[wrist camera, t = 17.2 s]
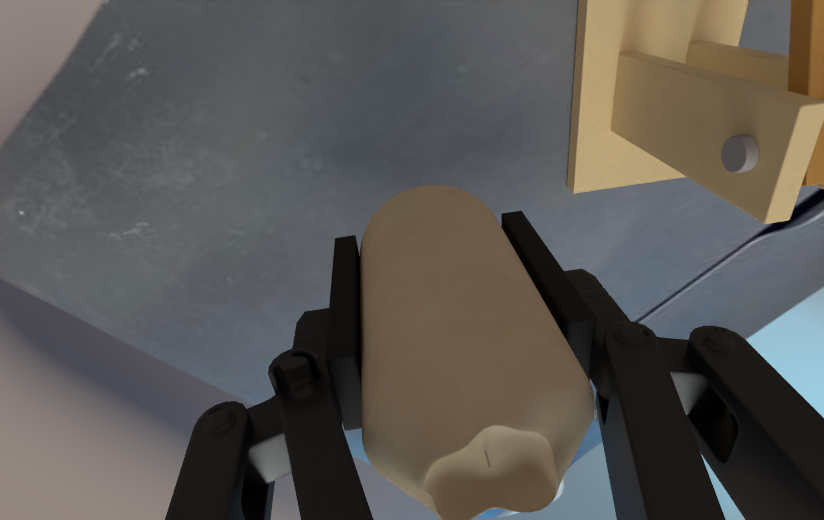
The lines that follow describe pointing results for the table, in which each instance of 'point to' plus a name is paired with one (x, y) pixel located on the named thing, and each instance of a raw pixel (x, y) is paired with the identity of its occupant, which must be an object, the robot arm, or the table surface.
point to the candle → (462, 361)
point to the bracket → (686, 105)
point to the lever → (808, 69)
